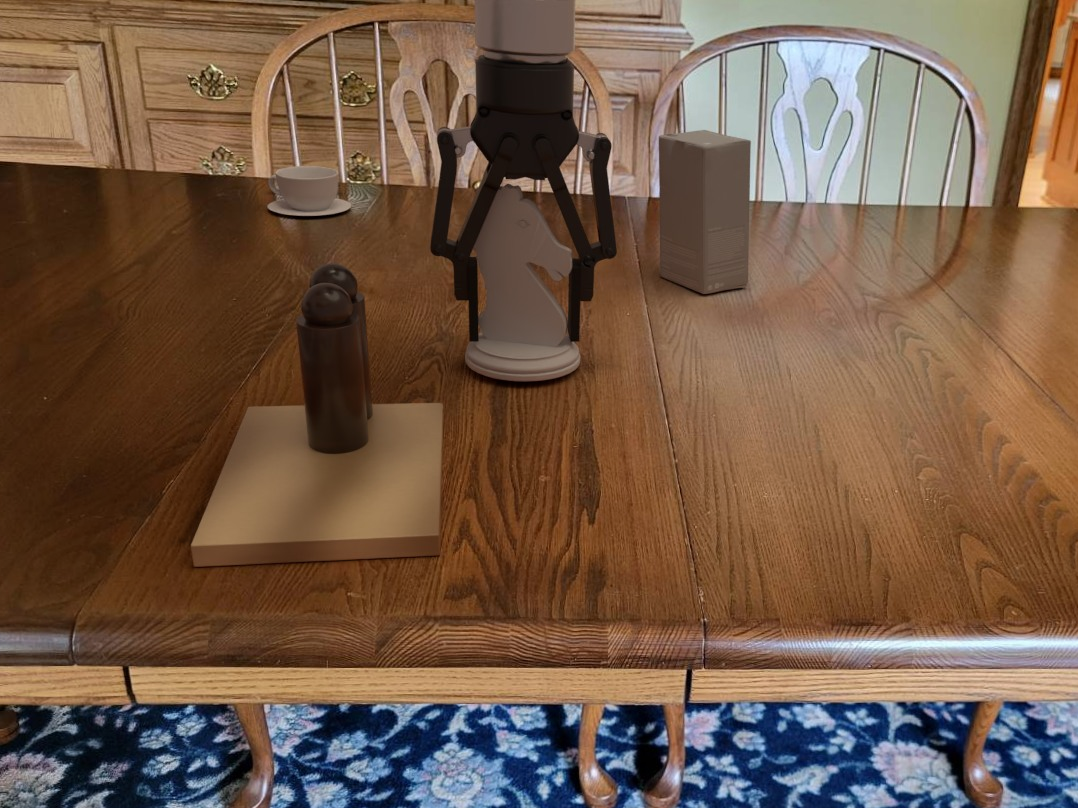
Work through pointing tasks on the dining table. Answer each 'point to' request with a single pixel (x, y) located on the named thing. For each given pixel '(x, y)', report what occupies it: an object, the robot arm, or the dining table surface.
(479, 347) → the chess piece
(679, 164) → the cosmetic box
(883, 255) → the dining table surface
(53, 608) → the dining table surface
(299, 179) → the teacup
